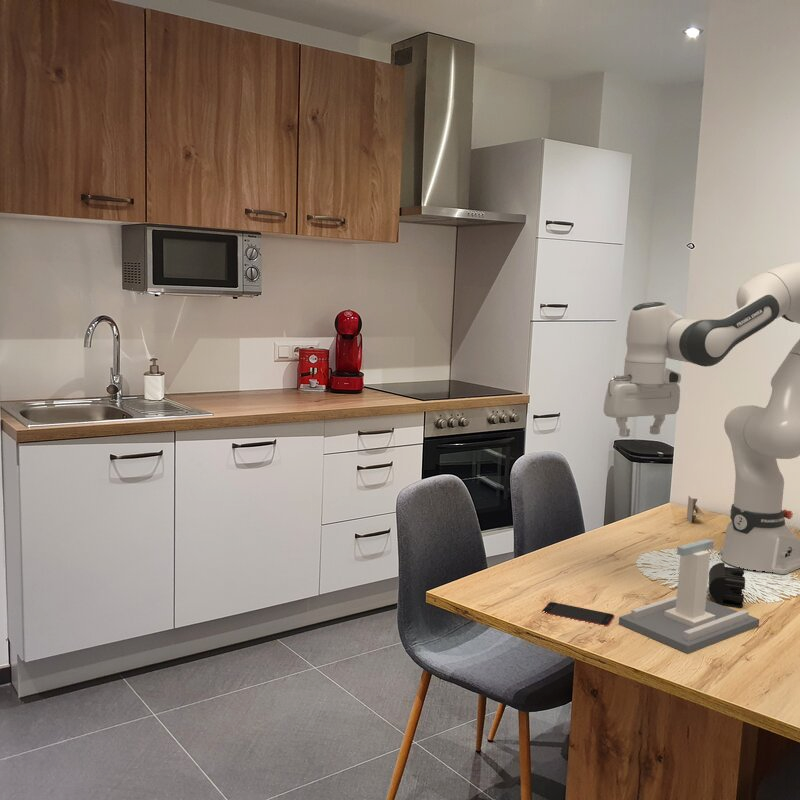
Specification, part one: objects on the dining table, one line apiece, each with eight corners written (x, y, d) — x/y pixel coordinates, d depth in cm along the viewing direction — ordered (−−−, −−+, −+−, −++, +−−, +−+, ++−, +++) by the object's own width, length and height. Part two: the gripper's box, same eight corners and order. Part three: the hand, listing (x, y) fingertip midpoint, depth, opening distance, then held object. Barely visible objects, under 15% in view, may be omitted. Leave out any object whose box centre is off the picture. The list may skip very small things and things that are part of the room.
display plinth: (690, 600, 182) (691, 587, 181) (758, 626, 169) (760, 612, 169) (618, 624, 168) (619, 609, 167) (687, 653, 155) (688, 638, 154)
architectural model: (698, 520, 248) (700, 496, 247) (703, 527, 241) (705, 502, 240) (686, 519, 248) (688, 495, 247) (691, 526, 241) (693, 501, 240)
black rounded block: (707, 589, 189) (709, 560, 189) (740, 594, 187) (743, 565, 186) (707, 604, 180) (710, 574, 179) (742, 609, 178) (745, 579, 177)
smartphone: (549, 601, 178) (615, 614, 172) (549, 603, 178) (615, 616, 172) (540, 611, 172) (608, 626, 166) (540, 614, 172) (608, 628, 166)
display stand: (659, 617, 168) (665, 542, 166) (689, 607, 174) (695, 535, 172) (689, 629, 162) (696, 552, 160) (719, 618, 168) (726, 544, 166)
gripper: (619, 377, 179) (615, 440, 181) (686, 375, 189) (681, 435, 191) (599, 374, 185) (595, 435, 187) (665, 372, 195) (660, 430, 197)
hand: (639, 435), depth 189 cm, fingers open, 8 cm apart
